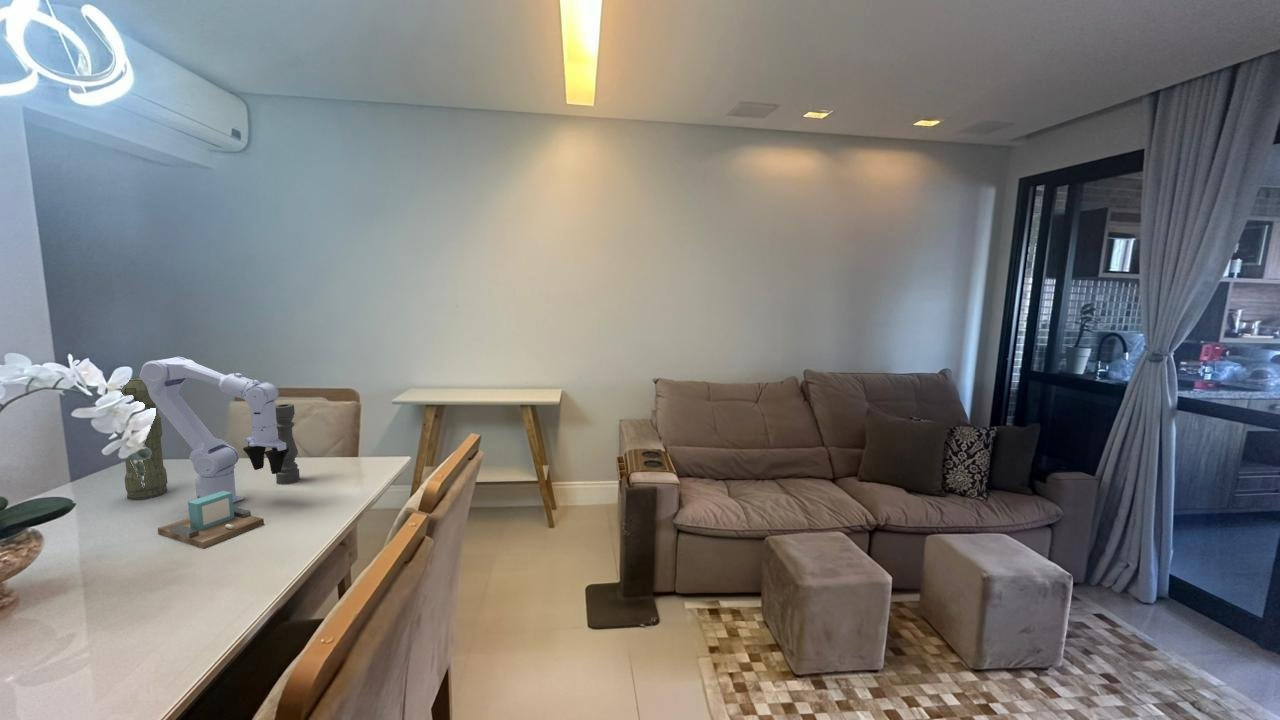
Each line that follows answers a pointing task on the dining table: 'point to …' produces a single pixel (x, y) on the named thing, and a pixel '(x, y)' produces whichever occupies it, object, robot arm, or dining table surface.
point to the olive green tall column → (153, 466)
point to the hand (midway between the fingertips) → (267, 470)
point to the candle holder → (287, 444)
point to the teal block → (211, 510)
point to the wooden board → (211, 529)
